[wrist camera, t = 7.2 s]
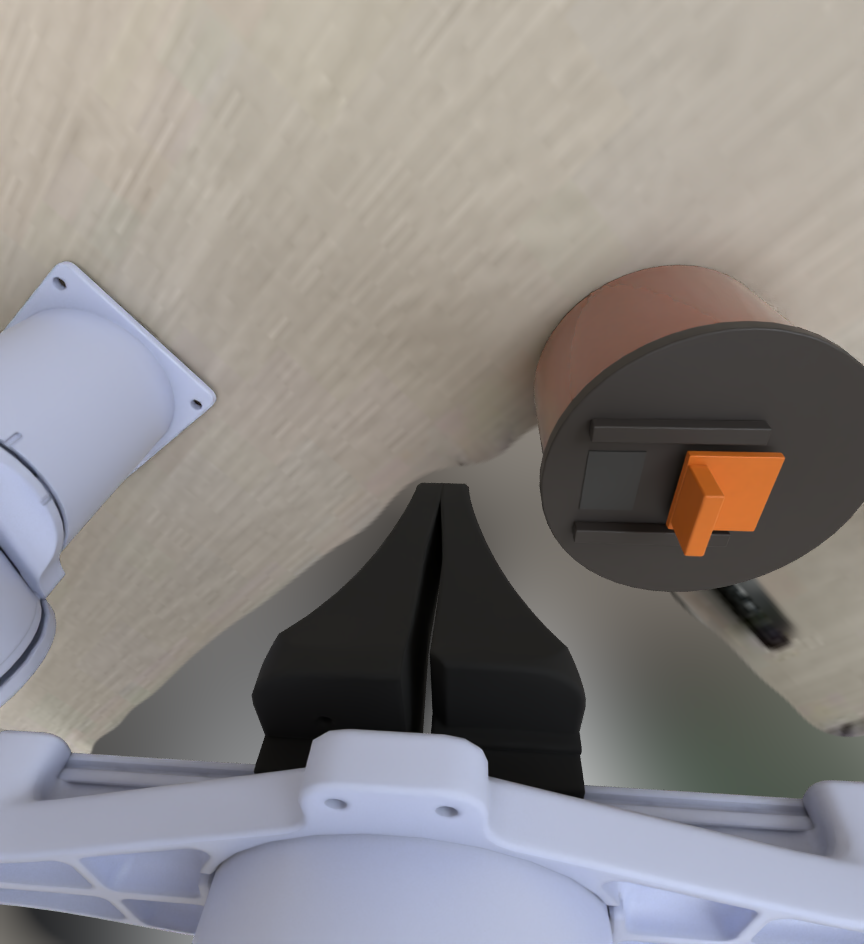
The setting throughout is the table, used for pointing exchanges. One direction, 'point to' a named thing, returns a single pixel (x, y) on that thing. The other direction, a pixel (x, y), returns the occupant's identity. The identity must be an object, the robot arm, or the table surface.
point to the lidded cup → (691, 426)
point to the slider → (720, 494)
